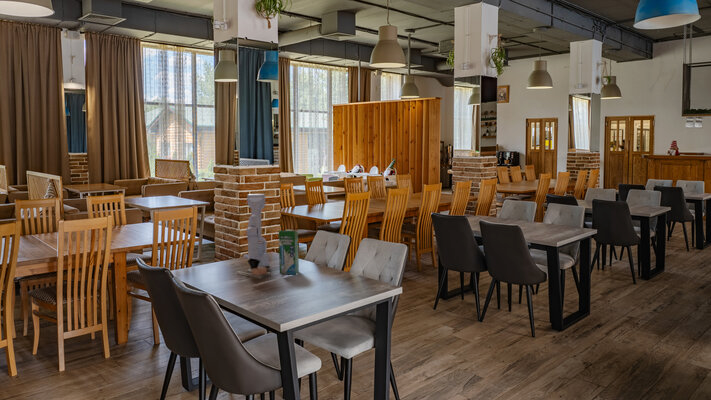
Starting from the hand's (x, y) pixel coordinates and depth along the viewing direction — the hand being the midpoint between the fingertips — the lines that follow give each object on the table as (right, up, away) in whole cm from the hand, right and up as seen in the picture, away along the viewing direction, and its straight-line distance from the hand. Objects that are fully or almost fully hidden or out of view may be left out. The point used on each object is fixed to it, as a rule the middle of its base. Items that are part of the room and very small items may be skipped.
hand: (254, 272), depth 296 cm
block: (+3, -1, -2) cm, 4 cm away
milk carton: (+18, -2, +8) cm, 20 cm away
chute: (0, -2, +1) cm, 2 cm away
